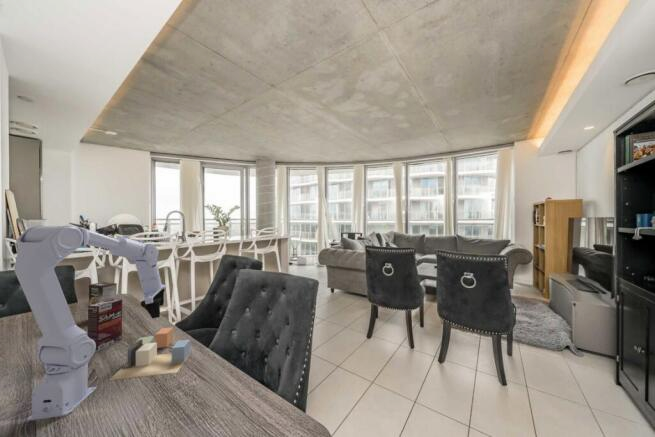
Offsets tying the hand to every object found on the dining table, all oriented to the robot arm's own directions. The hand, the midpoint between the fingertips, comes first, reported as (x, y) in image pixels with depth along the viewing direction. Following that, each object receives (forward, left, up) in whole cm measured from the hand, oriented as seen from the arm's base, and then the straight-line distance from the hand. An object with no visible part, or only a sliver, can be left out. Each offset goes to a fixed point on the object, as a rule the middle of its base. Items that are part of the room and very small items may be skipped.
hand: (158, 311), depth 89 cm
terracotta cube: (0, -2, -13) cm, 13 cm away
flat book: (+3, +6, -13) cm, 15 cm away
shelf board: (-13, -5, -13) cm, 19 cm away
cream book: (-11, -1, -12) cm, 16 cm away
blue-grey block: (-11, -11, -12) cm, 20 cm away
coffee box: (+35, +39, -13) cm, 54 cm away
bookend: (-11, +2, -12) cm, 16 cm away
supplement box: (+4, +19, -13) cm, 23 cm away
